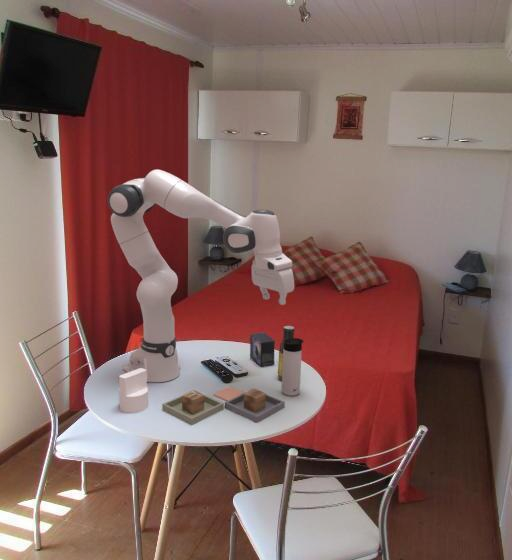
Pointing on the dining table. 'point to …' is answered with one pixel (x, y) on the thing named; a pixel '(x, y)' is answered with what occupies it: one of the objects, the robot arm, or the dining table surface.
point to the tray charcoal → (238, 408)
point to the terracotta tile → (228, 393)
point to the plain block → (254, 400)
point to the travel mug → (291, 367)
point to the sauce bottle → (287, 335)
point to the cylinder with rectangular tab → (133, 391)
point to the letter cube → (193, 402)
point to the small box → (262, 349)
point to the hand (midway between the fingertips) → (274, 301)
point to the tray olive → (209, 409)
